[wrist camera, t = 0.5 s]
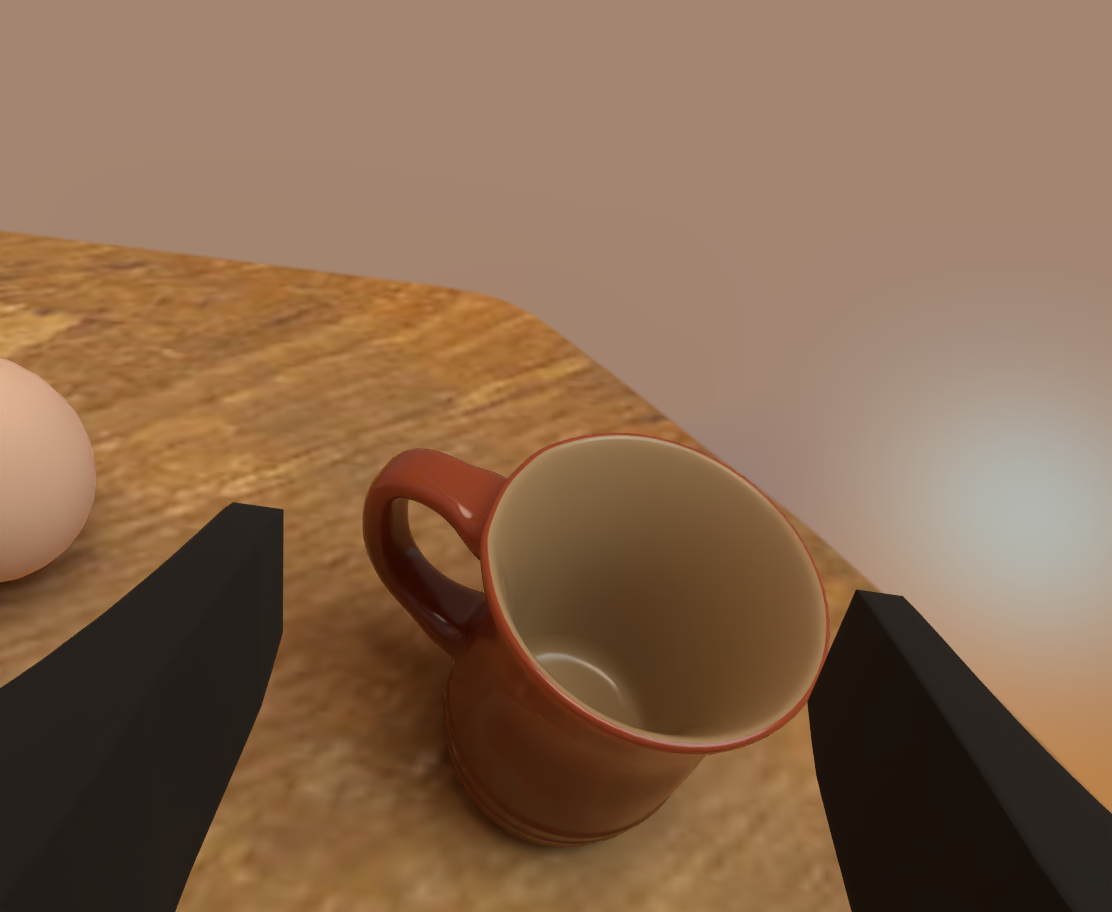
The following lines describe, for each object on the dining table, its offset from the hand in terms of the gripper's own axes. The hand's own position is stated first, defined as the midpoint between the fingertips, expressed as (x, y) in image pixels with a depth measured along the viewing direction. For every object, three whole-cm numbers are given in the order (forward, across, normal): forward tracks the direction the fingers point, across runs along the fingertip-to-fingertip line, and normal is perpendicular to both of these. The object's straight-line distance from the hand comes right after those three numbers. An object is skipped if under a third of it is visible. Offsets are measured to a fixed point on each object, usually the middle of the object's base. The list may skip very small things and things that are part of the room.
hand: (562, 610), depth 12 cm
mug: (+12, 0, +16) cm, 20 cm away
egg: (+14, +16, +13) cm, 25 cm away
